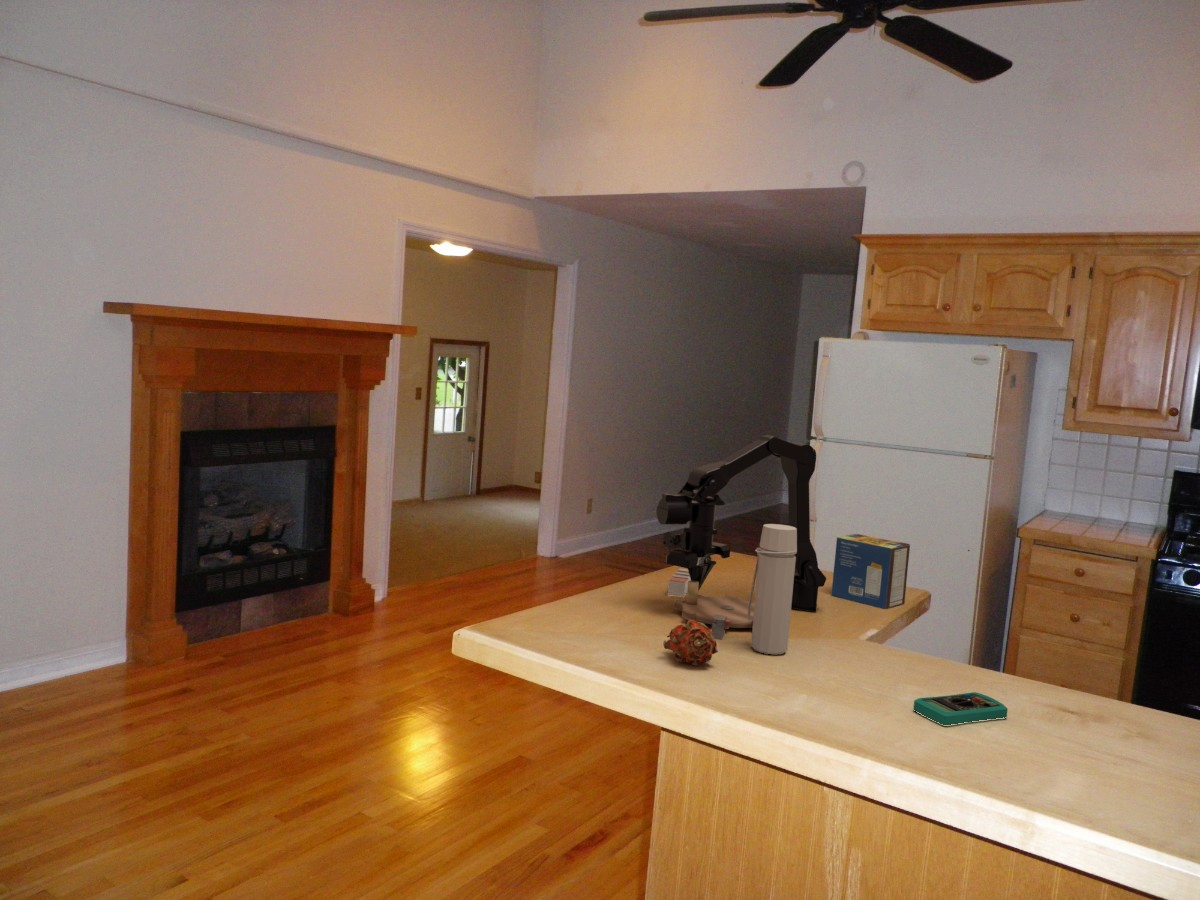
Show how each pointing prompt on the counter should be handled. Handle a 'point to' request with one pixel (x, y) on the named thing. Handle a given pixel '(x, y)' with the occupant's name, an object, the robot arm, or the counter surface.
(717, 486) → the robot arm
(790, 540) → the water bottle
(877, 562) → the protein box
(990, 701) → the digital multimeter
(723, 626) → the pointer
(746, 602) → the flat round disc
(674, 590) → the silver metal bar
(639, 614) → the counter surface
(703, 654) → the dragon fruit
